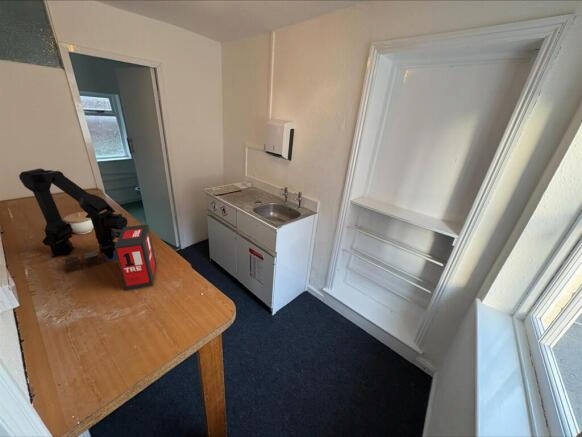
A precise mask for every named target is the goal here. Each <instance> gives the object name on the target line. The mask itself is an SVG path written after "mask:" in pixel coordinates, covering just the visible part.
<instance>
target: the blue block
mask: <svg viewBox="0 0 582 437" xmlns="http://www.w3.org/2000/svg"><path fill="white" fill-rule="evenodd" d="M103 255H104V258H105V262H111V261H114V260H118V258H117V255H116V252H115V251H113V258H112V259H110V258H109V257H108V256H106V255H105V254H103Z"/></svg>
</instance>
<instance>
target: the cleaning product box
mask: <svg viewBox="0 0 582 437" xmlns="http://www.w3.org/2000/svg"><path fill="white" fill-rule="evenodd" d="M116 240H117V241H115V242H116V245H115V247H114V248H115V252H116V255H117V258H118V259H117V261H118V262H117V263H118V265H119V268H120V272H121V276H122V279H123V282H124V286H125V289H126V291H131V290H136V289H142V288H146V287H152V286H153V285H154V278H155V273H156V265H157V260H156V255H155V251H154V246H153V240H152V237H151V231H150V227H149V224H141V225H130V226H126V227H123V229H122V232H121V234H120V236H119V238H117V239H116Z"/></svg>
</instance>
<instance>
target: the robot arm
mask: <svg viewBox="0 0 582 437" xmlns="http://www.w3.org/2000/svg"><path fill="white" fill-rule="evenodd" d="M18 177H19V181H20V182H21V183H22V184H23V186H24V187H25V188H26V189H27V190H29V191H30V192H32V193H33V195H34V198H35V200H36V202H37V204H38V207H39V208H40V211H41V213H42V215H43V218H44V220H45V222H46V224H45V228H44V233H45V237H44V238H43V239H42V241H41V243H42V244H43V245H44V246H46V247H47V246H48V247H49V248H50V251H51V253H52V254H51V257H52V258H53V257H63V256H69V255H70V254H72V252H73V251H74V250H75V247H74V245H73V243H72V241H70V239H71V238H73V233H74V232H73V229H72V227H71V224H70V223H66V222H64V219H63V218H62V216H61V213H60V211H59V209H58V206H57V205H56V204H57V203H56V202H55V199H54V196H53V194H52V192H51V188H52V185H54V186H55V187H57V188H58V189H59V190H60V191H62V192H64V193H65V194H66V195H68V196H70V197H71V199H73V200H75V201H76V202H77V203H78V206H79V207H80V209H81V210H83V212H86V213H88V215H86V216H85V217H86V218H91V221H92V224H93V227H94V228H93V230H94V235H95V238H96V240H97V243H98V245H99V246H98V249H99V252H100V254H101V255H104V254H105V255H106V256H108V257H109V258H110V259H112V258H113V251H115V248H114V247H115V245H116V242H117V241H115V240H116V239H118V238H119V236H120V234H121V232H122V229H123V227H128V219H127V218H126V217H125V216H123V214H122V213H116V210H115V209H114V208H113V207H112V206H111V205H110V204H109V203H108V202H107V201H106V200H105V199H104V198H103V197H100V196H98V194H97V195H96V194H93V193H89V192H88V191H86V190H85V189H83V188H82V187H80V186H79V185H78V184H77V183H75V182H74V181H72V180H71V179H69V178H68V177H67V176H65V175H64V173H63V172H62V171H60V170H53V169H47V170H46V169H43V168H41V167H40V168H35V169H30V170H29V169H28V170H25V171H21V172H20V174H18Z"/></svg>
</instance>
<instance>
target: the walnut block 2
mask: <svg viewBox="0 0 582 437" xmlns="http://www.w3.org/2000/svg"><path fill="white" fill-rule="evenodd" d="M84 260H85V262H86V265H87V267H92V266H93V267H94V266H97V265H99V264H101V259H100V256H99V253H98V251H97V250H95V251H91V252H86V253H84Z"/></svg>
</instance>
